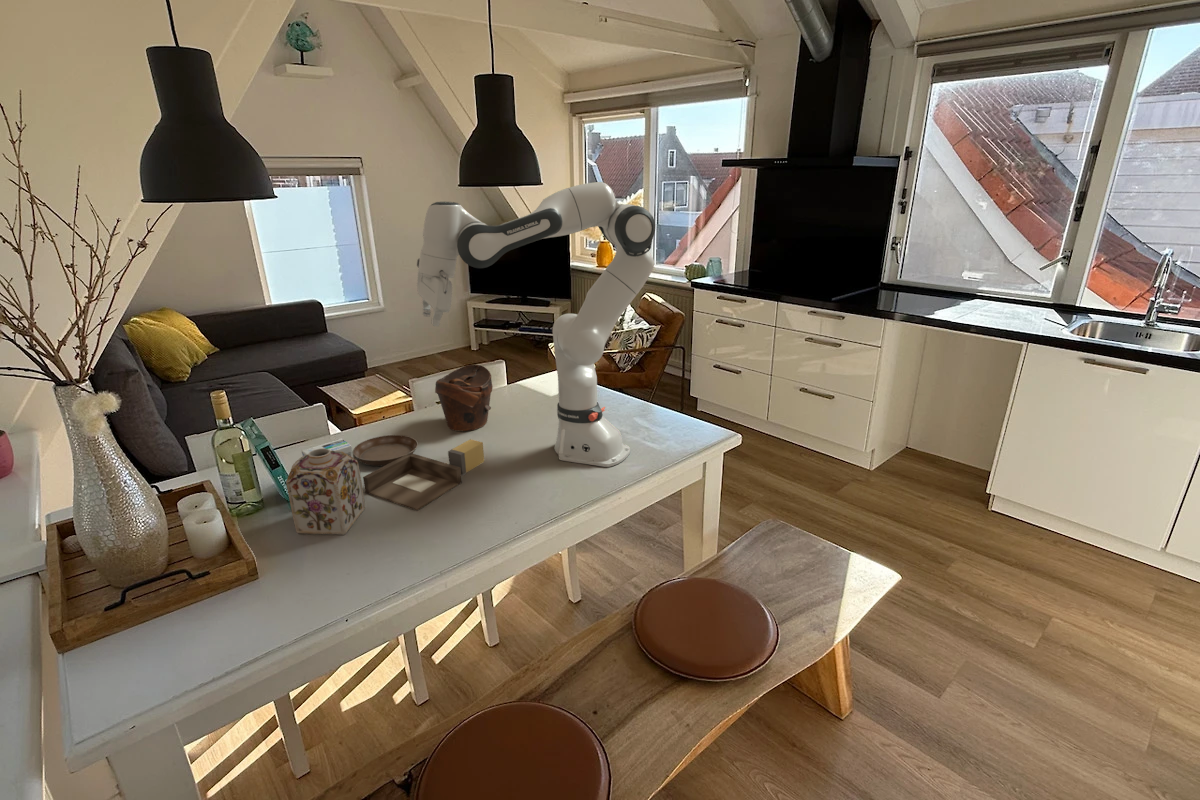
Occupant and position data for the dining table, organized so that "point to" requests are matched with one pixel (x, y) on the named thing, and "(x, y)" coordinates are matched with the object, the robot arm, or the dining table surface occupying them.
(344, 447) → the light bulb box
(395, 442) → the plant saucer
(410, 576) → the dining table surface
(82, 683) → the dining table surface
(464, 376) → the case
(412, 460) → the corner arena
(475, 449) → the ochre block
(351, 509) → the decorative jar
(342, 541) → the dining table surface
